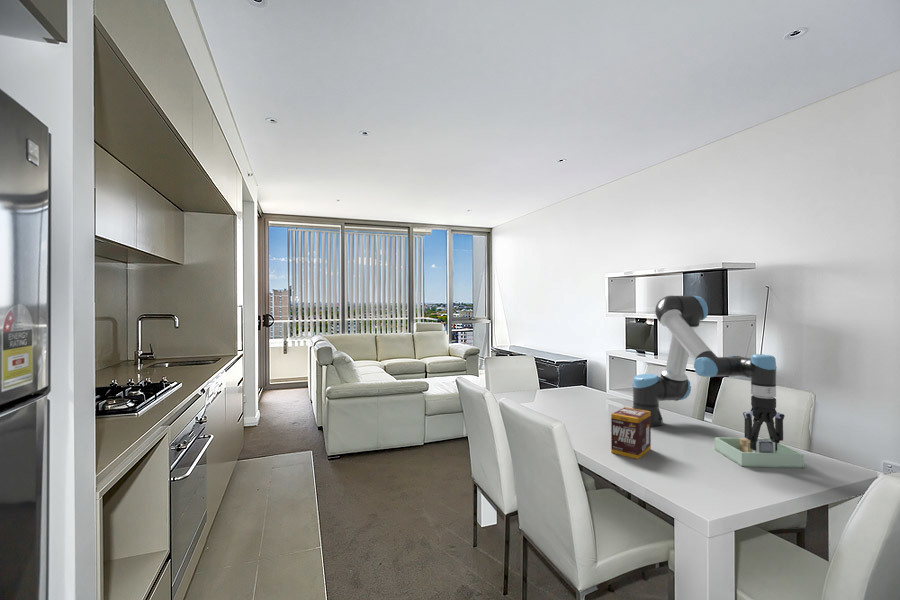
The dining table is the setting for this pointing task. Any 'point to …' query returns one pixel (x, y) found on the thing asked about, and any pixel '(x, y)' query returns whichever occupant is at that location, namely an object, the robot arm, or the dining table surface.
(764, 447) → the grey tin
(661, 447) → the dining table surface
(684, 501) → the dining table surface
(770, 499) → the dining table surface
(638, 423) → the supplement box
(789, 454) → the tote
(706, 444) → the dining table surface
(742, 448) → the oak cube
